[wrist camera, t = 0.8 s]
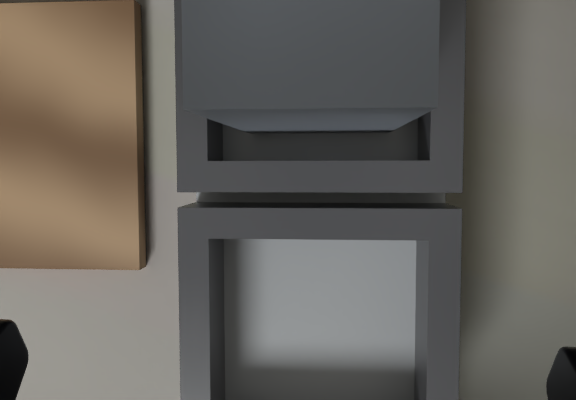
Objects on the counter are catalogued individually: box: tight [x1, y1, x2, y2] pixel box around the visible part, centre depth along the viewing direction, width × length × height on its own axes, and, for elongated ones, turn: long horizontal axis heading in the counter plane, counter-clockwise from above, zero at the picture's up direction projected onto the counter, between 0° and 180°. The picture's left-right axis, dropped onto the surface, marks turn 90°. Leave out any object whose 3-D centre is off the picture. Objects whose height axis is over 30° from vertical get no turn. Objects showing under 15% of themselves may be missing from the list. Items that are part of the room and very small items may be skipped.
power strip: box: [174, 0, 466, 400], centre depth 20 cm, size 22×9×6 cm, turn 0°
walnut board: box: [0, 0, 146, 270], centre depth 23 cm, size 11×11×1 cm
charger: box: [181, 0, 440, 134], centre depth 15 cm, size 5×5×9 cm
